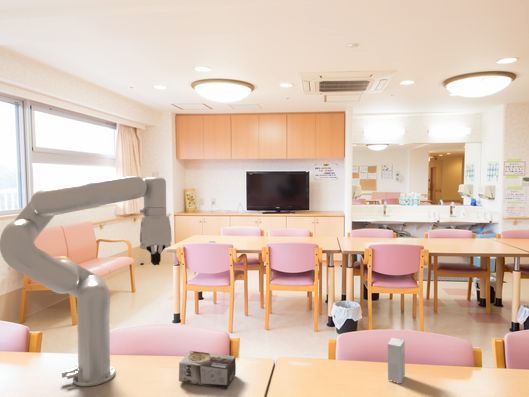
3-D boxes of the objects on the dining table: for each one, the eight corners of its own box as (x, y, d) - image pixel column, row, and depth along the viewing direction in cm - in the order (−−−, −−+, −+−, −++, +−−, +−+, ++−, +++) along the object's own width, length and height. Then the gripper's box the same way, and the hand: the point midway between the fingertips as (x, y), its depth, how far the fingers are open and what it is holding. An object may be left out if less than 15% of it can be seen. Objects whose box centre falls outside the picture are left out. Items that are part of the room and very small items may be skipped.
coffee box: (178, 382, 116) (227, 390, 113) (178, 362, 116) (227, 369, 113) (190, 368, 125) (236, 375, 122) (190, 349, 125) (236, 356, 121)
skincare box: (391, 373, 123) (391, 337, 123) (405, 376, 121) (405, 339, 120) (387, 381, 118) (387, 343, 117) (401, 384, 115) (401, 346, 115)
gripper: (136, 213, 123) (137, 268, 123) (179, 212, 131) (180, 263, 131) (130, 212, 129) (131, 265, 129) (172, 211, 137) (172, 260, 138)
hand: (155, 264), depth 130 cm, fingers closed
